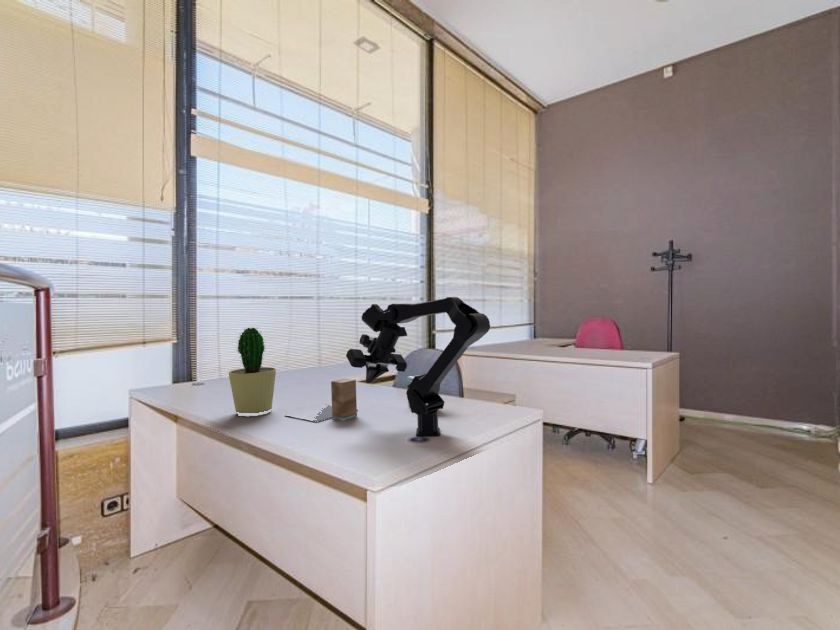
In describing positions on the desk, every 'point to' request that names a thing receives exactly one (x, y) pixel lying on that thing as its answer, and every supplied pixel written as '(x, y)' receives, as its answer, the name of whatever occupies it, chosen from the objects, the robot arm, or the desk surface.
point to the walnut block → (344, 399)
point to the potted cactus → (252, 376)
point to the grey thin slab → (324, 414)
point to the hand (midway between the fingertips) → (367, 382)
